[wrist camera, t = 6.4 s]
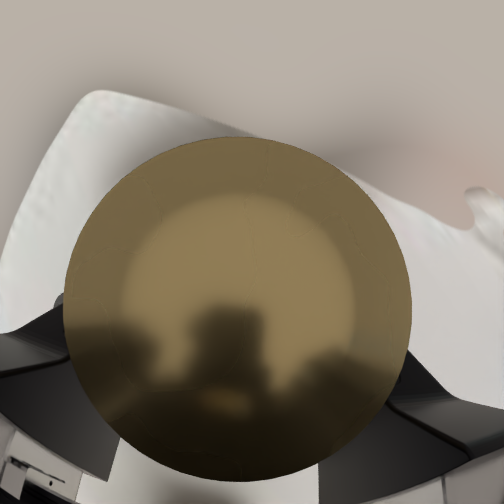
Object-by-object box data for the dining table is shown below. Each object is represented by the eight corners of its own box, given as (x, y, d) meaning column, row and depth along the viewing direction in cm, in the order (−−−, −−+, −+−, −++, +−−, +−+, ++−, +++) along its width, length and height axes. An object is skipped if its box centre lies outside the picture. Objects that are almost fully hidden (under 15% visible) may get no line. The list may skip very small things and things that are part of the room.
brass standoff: (236, 359, 15) (222, 523, 3) (180, 295, 15) (17, 287, 3) (301, 304, 15) (460, 321, 3) (245, 240, 16) (252, 84, 4)
